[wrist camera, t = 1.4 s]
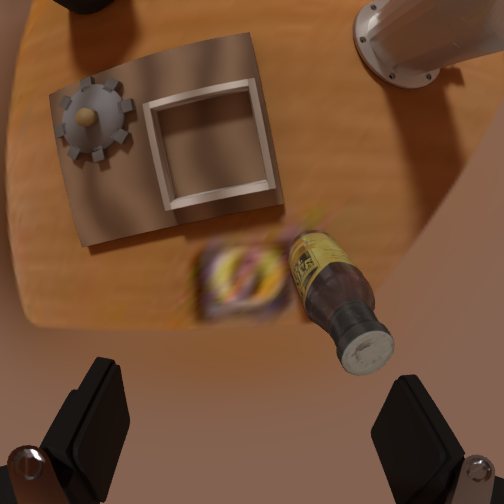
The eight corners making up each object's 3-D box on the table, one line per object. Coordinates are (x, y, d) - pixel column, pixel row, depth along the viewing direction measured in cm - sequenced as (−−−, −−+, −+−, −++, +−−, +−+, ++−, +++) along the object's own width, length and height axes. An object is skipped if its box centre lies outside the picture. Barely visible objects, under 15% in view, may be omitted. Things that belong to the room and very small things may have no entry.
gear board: (249, 36, 30) (250, 22, 26) (282, 201, 36) (287, 209, 32) (55, 96, 31) (35, 92, 27) (86, 243, 37) (70, 255, 33)
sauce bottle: (285, 229, 38) (328, 312, 19) (337, 227, 38) (417, 301, 19) (286, 281, 40) (321, 391, 21) (335, 277, 40) (400, 378, 21)
